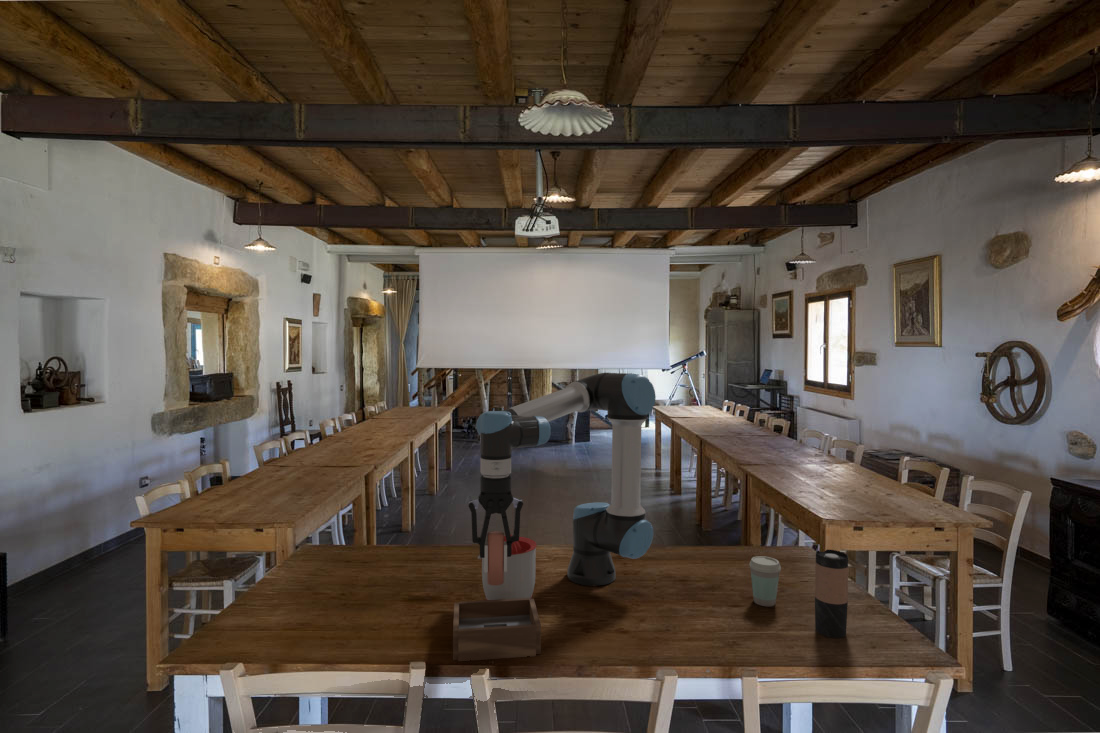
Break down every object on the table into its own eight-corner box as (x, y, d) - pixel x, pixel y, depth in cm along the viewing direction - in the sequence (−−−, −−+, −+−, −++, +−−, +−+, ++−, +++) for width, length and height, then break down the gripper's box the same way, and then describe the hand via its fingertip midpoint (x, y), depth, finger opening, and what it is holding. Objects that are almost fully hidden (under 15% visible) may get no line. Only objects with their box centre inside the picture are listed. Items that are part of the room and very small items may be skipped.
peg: (487, 579, 149) (487, 531, 148) (503, 578, 149) (503, 530, 149) (487, 585, 145) (487, 536, 145) (504, 584, 145) (504, 535, 145)
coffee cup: (783, 609, 166) (783, 567, 166) (750, 607, 168) (751, 564, 168) (777, 597, 175) (778, 556, 174) (747, 594, 176) (747, 554, 176)
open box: (454, 628, 154) (454, 601, 154) (533, 624, 157) (533, 597, 157) (453, 661, 138) (453, 631, 138) (541, 655, 141) (541, 626, 141)
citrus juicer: (494, 588, 181) (494, 522, 180) (545, 598, 173) (546, 529, 173) (464, 608, 167) (464, 536, 166) (519, 620, 159) (519, 545, 159)
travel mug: (845, 641, 148) (846, 561, 148) (811, 633, 152) (813, 555, 152) (848, 629, 155) (850, 552, 154) (816, 622, 159) (817, 547, 158)
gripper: (460, 479, 142) (460, 577, 142) (532, 477, 144) (531, 574, 145) (460, 472, 149) (460, 566, 150) (529, 471, 151) (528, 563, 152)
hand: (495, 569), depth 147 cm, fingers closed on peg, 4 cm apart
